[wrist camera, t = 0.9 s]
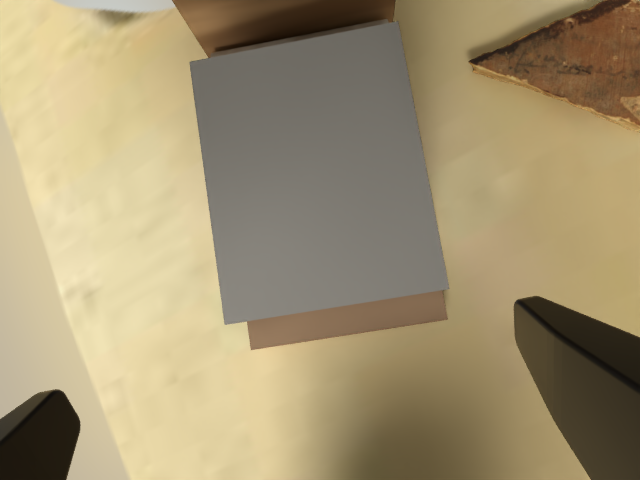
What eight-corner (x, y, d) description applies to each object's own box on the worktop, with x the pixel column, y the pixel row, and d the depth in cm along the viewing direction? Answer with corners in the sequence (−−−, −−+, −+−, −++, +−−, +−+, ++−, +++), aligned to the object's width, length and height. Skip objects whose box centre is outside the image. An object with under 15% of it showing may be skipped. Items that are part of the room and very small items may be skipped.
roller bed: (443, 317, 26) (485, 333, 17) (255, 347, 26) (211, 375, 18) (379, -19, 28) (390, -144, 20) (208, 15, 29) (151, -92, 20)
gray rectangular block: (419, 287, 22) (449, 289, 15) (263, 312, 23) (224, 324, 16) (384, 99, 24) (398, 21, 17) (236, 126, 24) (189, 61, 17)
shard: (462, 73, 27) (469, 59, 26) (512, -34, 28) (522, -56, 26) (635, 143, 26) (655, 133, 24) (684, 29, 27) (708, 11, 25)
